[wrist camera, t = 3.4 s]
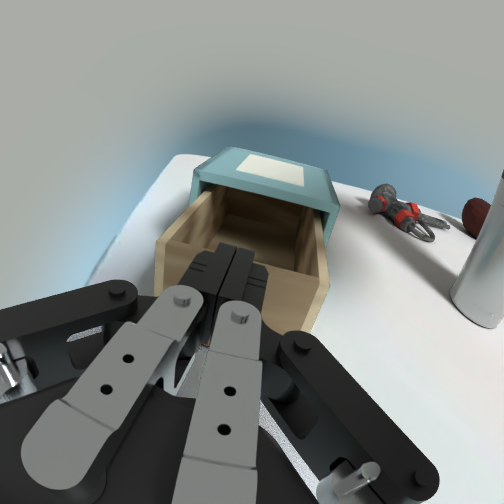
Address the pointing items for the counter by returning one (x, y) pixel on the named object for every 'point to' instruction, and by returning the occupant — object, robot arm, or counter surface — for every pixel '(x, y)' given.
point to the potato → (475, 215)
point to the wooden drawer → (259, 240)
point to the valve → (402, 212)
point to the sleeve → (270, 181)
